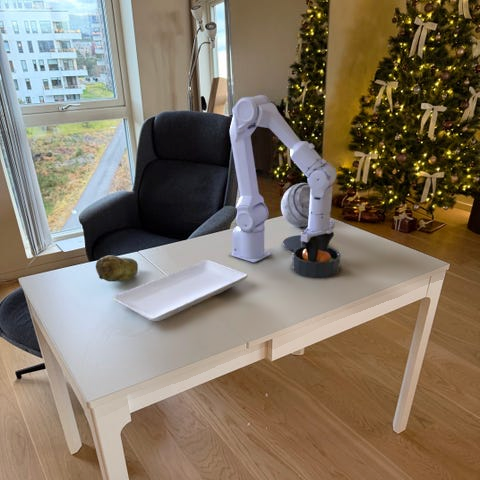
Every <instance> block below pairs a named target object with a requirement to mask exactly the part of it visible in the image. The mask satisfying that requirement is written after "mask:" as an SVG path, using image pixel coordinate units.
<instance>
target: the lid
mask: <svg viewBox="0 0 480 480" xmlns="http://www.w3.org/2000/svg"><path fill="white" fill-rule="evenodd" d="M304 231H305V230H303V231H301V234H302V233H304ZM301 234H298V235H297V234H296V235H292V236H288V237H286V238H285V239H283V241H282V246H283V247H284V248H285V249H287V250H289V251H292V252H294V250H295V249H297V248H299V247H303V246H305V245H304V243H303V241H301Z"/></svg>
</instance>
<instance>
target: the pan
mask: <svg viewBox="0 0 480 480" xmlns="http://www.w3.org/2000/svg"><path fill="white" fill-rule="evenodd" d="M305 249H306V248H305V246H303V247H299V248H297V249H295V250H294V251H292V258H291V259H292V260H291V266H292V270H293V272H294V273H295V274H297V275H299V276H302V277H305V278H311V279H324V278H325V279H326V278H330V277H333V276H335V275H337V274H338V273H339V270H340V264H341V257H342V256H341V253H340V252H339V250H337V249H335V248H333V247H330V246H328V247H327V249H326V252H327V253H329V254H330V256H331V258H332V259H334V260H333V261H328V262H309V261H305V260H304V259H303V257H302V253H303V251H304V250H305Z"/></svg>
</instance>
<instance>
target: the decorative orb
mask: <svg viewBox="0 0 480 480" xmlns="http://www.w3.org/2000/svg"><path fill="white" fill-rule="evenodd" d="M310 193H311V188H310V186H309V184H308V182H307V183H306V182H301V183H296V184H294V185H292V186H290V187H289V188H288V189H287V190H286V191H285V192H284V194H283V195H282V198H281V201H280V211H281V214H282V216H283V217H284V220H285V221H287V222H288V223H289V224H290V225H292V226H294V227H299V228H304V227H308V221H309V205H310Z"/></svg>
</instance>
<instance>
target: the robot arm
mask: <svg viewBox="0 0 480 480" xmlns="http://www.w3.org/2000/svg"><path fill="white" fill-rule="evenodd" d="M231 111H232V119H231V123H230V128H229V137H230V143H231V151H232V155H233V161H234V167H235V172H236V173H235V174H236V179H237V185H238V191H239V199H238V203H237V205H236V216H235V222H236V225H237V226H235V227H234V229H233V231H232V238H231V239H232V253H231V254H230V255H231V256H232V257H235V258H238V259H242V260H244V261H247V262H251V263H257V262H259V261H261V260H263V259H265V258H268V257H269V256H271V253H270V252H266V251H265V231H266V230H265V228H266V226H265V222H266V221H267V220H268V217H269V209H268V207H267V205H266V203H265V199H264V197H263V196H262V195H261V194H260V193H259V185H258V179H257V172H256V165H255V164H256V163H255V158H254V152H253V145H252V137H251V136H252V134H253V133H254V132H255V130H256V129H257V127H260V128H267V129H269V130H270V131H271V132H272V133H273V134H274V135H275V136H276V137H277V138H278V139H279V140H280V141H281V142H282V143H283V144H284V145H285V146H286V148H288V149H289V151H290V159H291V160H292V162H293V163H294V164H295V165H296V166H297V167H298V168H299V169H300V171H301V172H302V173H303V174H304V176H306V177H307V183H308V184H309V186H310V188H311V193H310V205H309V221H308V226H306V228H305V229H304V230H303V231H304V233H302V232H301V233H300V235H301V241H303V243H304V245H305V248H306V251H307V256H308V261H311V262H316V259H317V255H318V250H321V251H325V252H326V249H327V247H329V244H330V242H331V240H332V238H333V237H334V236H335V232H334V231H333V229H335V225H336V222H335V221H334V220H331V211H332V200H333V184H334V183H335V181H336V180H337V169H336V168H335V167H334V165H333V164H332V163H329V162H327V160H326V159H325V158H322V157H321V156H320V155H319V153H318V152H317V150H315V147H316V146H315V145H314V144H313V142H311V143H309V142H308V141H307V140H306V141H302V140H301V139H300V138H299V137H298V136H297V135H296V133H295V132H294V130H293V129H292V128H291V127H290V125H289V123H287V121H286V120H285V119H284V117H283V116H282V114H281V113H280V112H279V110H278V108H277V106H276V104H274V103H273V102H271V100H270V99H269V97H267V96H266V95H264V94H257V95H255V96H246V97H245V96H244V97H241V98H240V99H238V101H237V102H236V103H235V105H234V106H233V107H232V110H231Z"/></svg>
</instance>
